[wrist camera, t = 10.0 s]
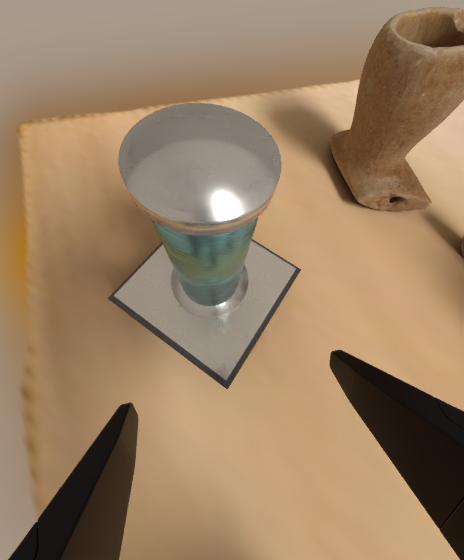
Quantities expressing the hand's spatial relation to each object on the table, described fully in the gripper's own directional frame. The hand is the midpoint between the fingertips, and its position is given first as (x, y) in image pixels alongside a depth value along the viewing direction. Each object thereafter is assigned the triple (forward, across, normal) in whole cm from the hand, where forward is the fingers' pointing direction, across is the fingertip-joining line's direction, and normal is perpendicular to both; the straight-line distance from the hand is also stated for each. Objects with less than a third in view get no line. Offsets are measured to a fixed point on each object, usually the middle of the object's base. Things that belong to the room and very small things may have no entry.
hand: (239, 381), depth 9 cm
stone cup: (+23, -24, -7) cm, 35 cm away
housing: (+11, 0, 0) cm, 11 cm away
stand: (+14, 0, +3) cm, 14 cm away
